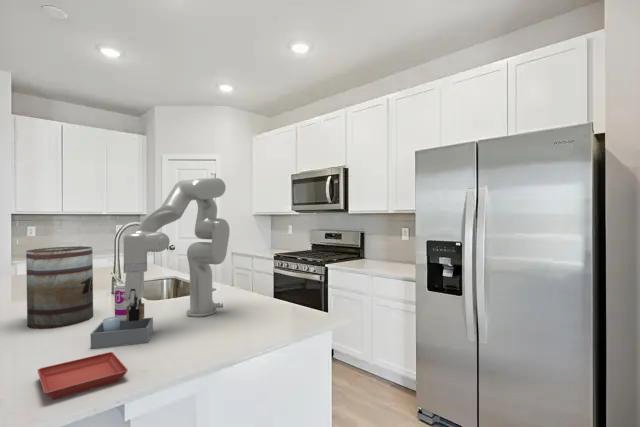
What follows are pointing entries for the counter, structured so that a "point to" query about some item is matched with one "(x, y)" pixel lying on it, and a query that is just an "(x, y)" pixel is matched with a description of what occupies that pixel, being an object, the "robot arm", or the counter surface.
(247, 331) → the counter surface
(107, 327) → the blue cylinder
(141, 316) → the walnut cube
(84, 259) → the barrel
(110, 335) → the tote
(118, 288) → the supplement can
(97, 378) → the plant saucer
